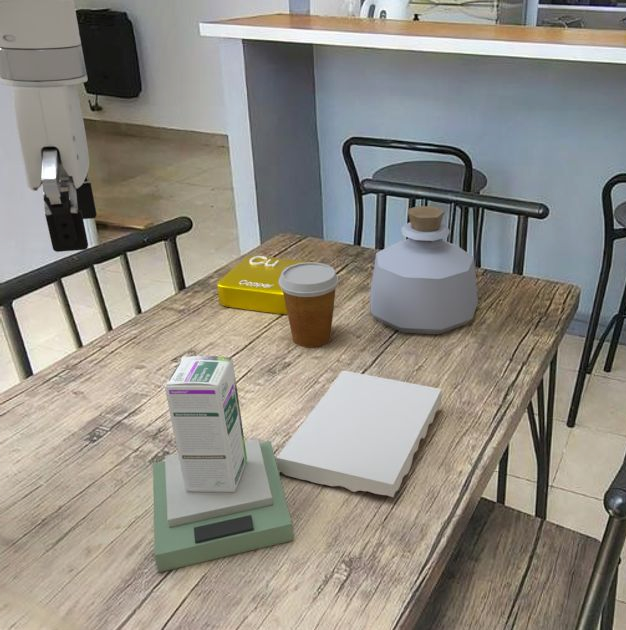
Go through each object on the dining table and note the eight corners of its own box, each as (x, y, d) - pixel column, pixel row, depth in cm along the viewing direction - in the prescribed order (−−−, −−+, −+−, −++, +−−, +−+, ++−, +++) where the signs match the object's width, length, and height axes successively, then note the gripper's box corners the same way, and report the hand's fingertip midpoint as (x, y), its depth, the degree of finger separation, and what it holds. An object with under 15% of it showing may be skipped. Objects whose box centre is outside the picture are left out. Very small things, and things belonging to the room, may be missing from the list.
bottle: (350, 298, 128) (348, 201, 119) (442, 280, 136) (446, 188, 127) (396, 347, 112) (397, 240, 103) (496, 324, 120) (505, 222, 111)
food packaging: (393, 506, 80) (441, 408, 97) (393, 484, 79) (441, 389, 95) (279, 478, 84) (343, 389, 101) (276, 457, 83) (342, 370, 99)
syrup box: (236, 493, 76) (221, 384, 69) (182, 492, 76) (163, 383, 69) (247, 460, 81) (235, 355, 74) (197, 459, 81) (180, 354, 74)
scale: (158, 572, 70) (152, 547, 69) (156, 479, 83) (151, 455, 81) (293, 540, 75) (291, 516, 73) (272, 456, 87) (270, 433, 85)
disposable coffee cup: (317, 319, 120) (314, 256, 115) (351, 339, 114) (350, 274, 109) (271, 337, 114) (266, 271, 109) (305, 359, 108) (301, 291, 103)
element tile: (215, 306, 124) (212, 282, 121) (250, 273, 137) (248, 251, 134) (292, 316, 121) (291, 292, 119) (321, 282, 134) (320, 259, 132)
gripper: (15, 54, 72) (49, 210, 80) (-24, 80, 57) (23, 267, 65) (93, 54, 74) (119, 206, 82) (74, 79, 59) (108, 260, 67)
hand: (76, 233), depth 73 cm, fingers open, 9 cm apart
